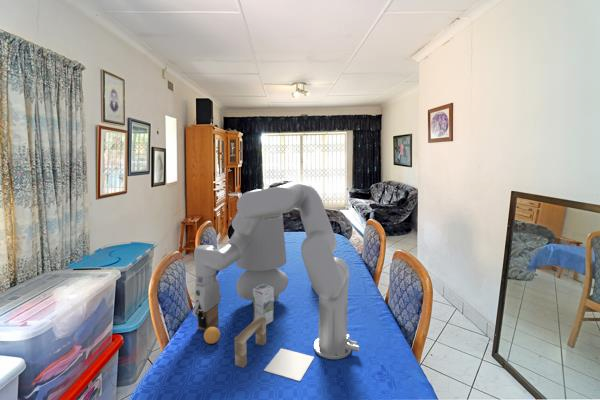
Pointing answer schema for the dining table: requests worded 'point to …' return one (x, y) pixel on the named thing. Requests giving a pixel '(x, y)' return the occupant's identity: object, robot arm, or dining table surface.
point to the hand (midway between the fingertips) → (208, 322)
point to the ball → (212, 335)
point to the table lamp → (264, 259)
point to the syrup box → (263, 302)
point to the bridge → (241, 338)
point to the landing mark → (289, 364)
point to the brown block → (211, 318)
